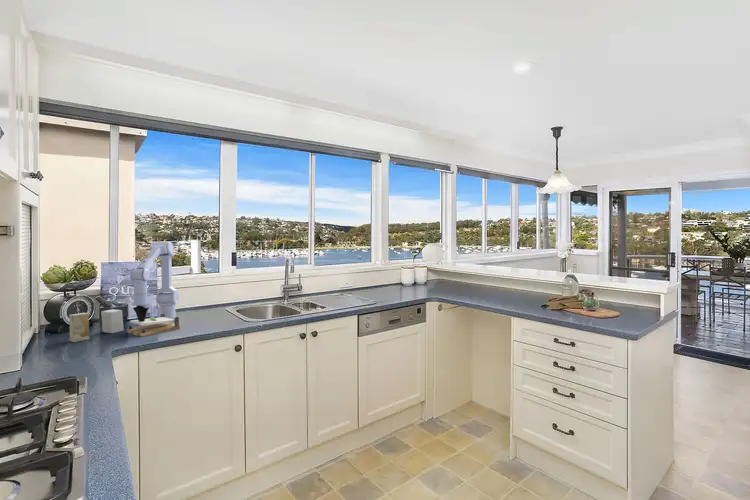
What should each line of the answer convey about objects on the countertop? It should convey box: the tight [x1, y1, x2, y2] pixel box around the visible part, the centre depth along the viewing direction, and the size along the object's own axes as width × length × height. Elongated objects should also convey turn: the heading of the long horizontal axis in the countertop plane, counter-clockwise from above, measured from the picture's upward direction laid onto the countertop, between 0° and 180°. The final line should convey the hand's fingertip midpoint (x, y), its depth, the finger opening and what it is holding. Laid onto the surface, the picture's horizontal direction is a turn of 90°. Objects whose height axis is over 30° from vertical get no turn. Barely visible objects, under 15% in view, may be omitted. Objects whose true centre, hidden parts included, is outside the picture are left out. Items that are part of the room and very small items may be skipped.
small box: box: [100, 308, 124, 334], centre depth 189 cm, size 8×6×10 cm
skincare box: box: [68, 312, 90, 343], centre depth 174 cm, size 6×4×12 cm
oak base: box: [126, 314, 181, 338], centre depth 189 cm, size 16×18×6 cm
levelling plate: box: [129, 317, 175, 327], centre depth 189 cm, size 12×17×2 cm
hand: (141, 321), depth 185 cm, fingers closed, pressing on levelling plate
